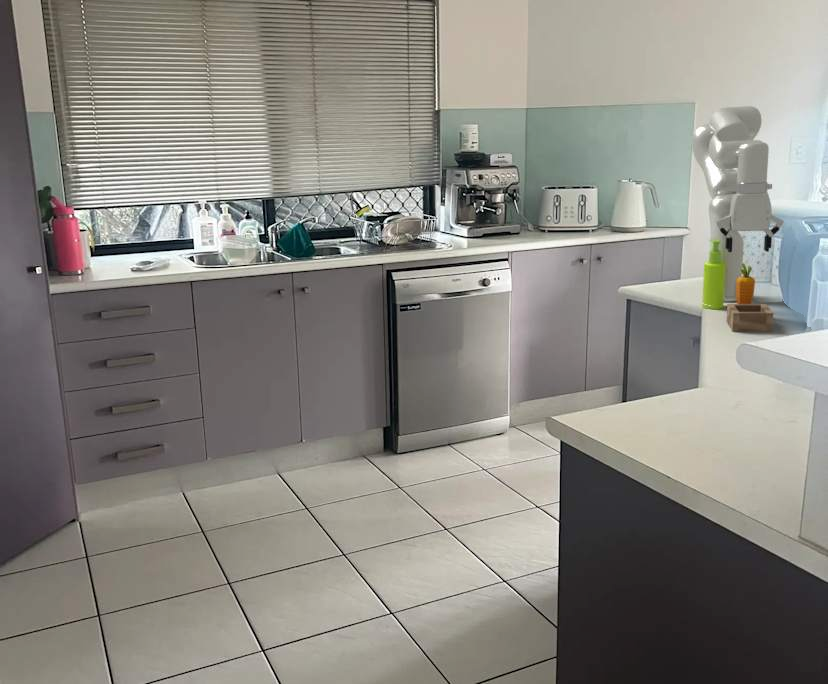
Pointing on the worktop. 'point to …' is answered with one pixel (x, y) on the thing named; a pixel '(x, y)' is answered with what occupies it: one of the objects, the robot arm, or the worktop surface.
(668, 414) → the worktop surface
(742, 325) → the holder
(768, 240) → the robot arm
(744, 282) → the carrot
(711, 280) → the soap dispenser
